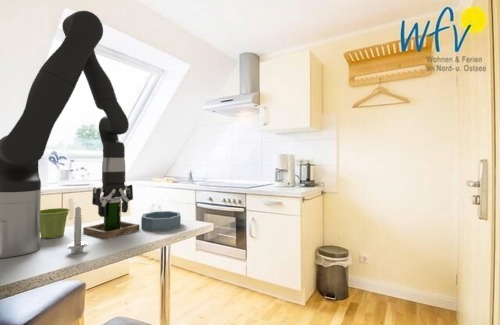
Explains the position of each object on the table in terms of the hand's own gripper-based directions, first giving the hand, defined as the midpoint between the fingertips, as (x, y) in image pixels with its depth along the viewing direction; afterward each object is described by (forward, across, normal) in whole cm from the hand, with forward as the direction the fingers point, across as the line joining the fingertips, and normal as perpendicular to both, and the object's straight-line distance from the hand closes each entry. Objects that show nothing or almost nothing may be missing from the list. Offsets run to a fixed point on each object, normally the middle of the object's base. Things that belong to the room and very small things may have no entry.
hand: (113, 214), depth 94 cm
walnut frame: (+6, 0, 0) cm, 6 cm away
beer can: (+6, 0, 0) cm, 6 cm away
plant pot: (+6, -15, +11) cm, 19 cm away
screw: (+6, -18, -11) cm, 22 cm away
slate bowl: (+6, +15, -9) cm, 18 cm away
